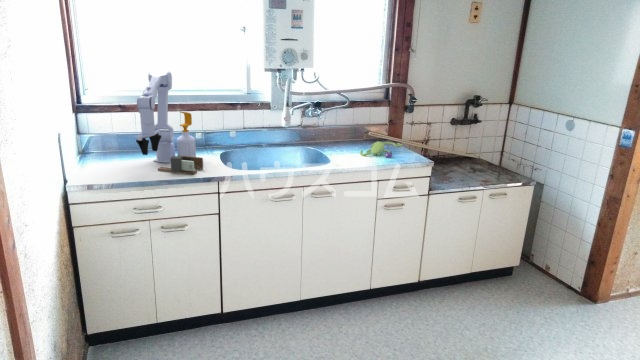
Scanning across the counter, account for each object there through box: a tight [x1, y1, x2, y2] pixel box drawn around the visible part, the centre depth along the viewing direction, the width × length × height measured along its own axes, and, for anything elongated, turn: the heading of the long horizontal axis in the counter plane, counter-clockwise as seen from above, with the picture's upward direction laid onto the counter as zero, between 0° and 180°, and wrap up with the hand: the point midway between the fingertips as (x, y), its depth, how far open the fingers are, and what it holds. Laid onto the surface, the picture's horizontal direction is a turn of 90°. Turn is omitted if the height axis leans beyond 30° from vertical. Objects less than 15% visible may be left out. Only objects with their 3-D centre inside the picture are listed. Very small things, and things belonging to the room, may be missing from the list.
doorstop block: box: [170, 155, 183, 171], centre depth 213 cm, size 4×4×6 cm
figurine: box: [359, 140, 403, 159], centre depth 262 cm, size 18×27×6 cm
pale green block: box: [181, 160, 195, 171], centre depth 212 cm, size 2×6×4 cm, turn 76°
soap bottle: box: [176, 111, 197, 157], centre depth 233 cm, size 9×9×25 cm
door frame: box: [157, 154, 204, 176], centre depth 217 cm, size 10×18×6 cm, turn 76°
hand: (150, 152), depth 209 cm, fingers open, 7 cm apart
